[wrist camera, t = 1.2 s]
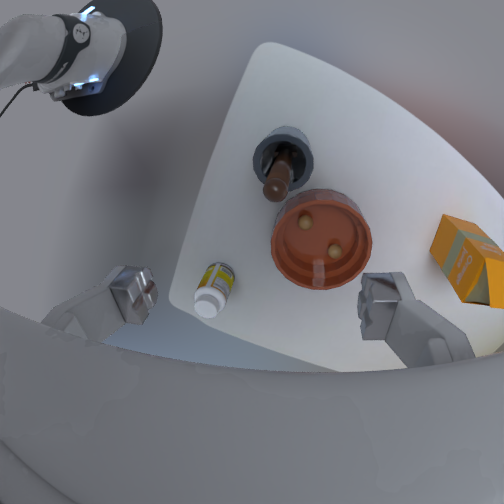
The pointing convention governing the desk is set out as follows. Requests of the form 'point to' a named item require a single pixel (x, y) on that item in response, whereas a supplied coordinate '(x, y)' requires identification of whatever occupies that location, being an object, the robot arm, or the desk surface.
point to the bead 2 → (335, 251)
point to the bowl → (320, 240)
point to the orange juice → (470, 262)
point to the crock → (300, 164)
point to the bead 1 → (305, 222)
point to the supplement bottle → (213, 290)
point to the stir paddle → (280, 173)
